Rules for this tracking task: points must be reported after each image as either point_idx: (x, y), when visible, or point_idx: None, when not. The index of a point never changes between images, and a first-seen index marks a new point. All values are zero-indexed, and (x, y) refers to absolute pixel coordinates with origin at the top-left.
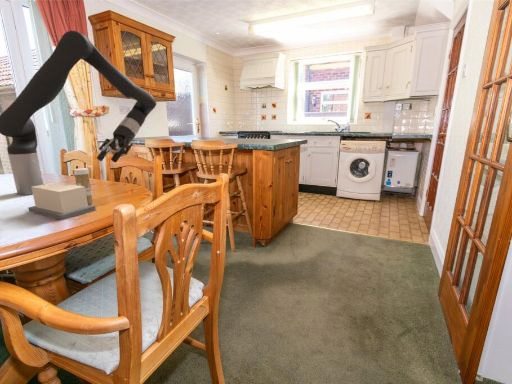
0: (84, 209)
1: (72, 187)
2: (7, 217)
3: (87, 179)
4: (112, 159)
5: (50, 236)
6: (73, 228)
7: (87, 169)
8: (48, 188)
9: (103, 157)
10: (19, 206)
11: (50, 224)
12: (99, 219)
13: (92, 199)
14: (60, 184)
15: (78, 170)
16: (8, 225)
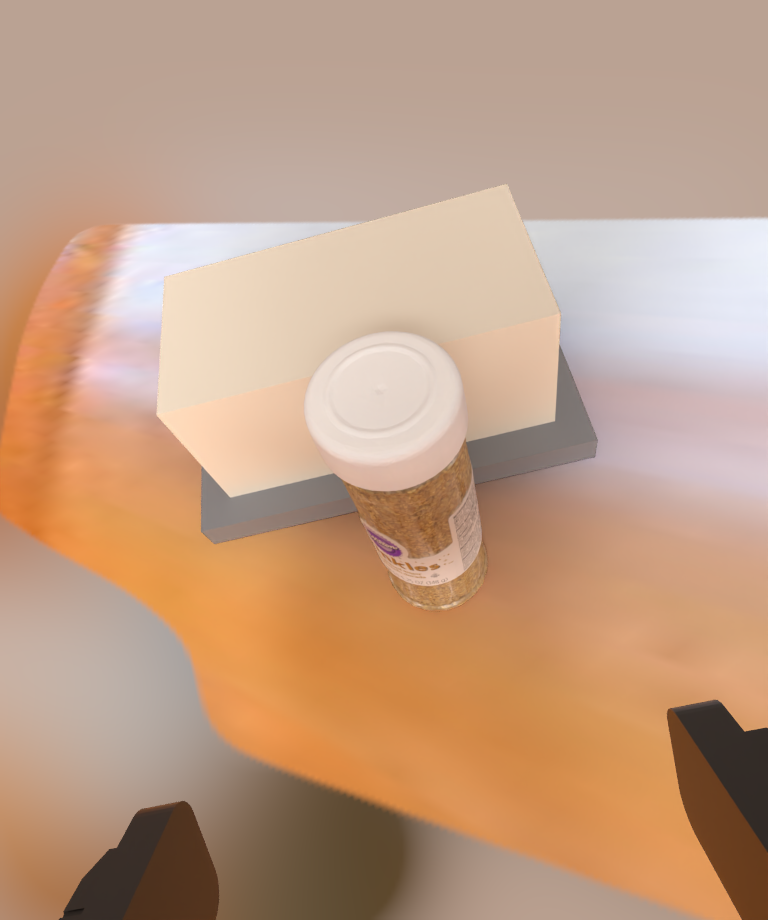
0: (202, 467)
1: (215, 350)
2: None
3: (347, 489)
4: (146, 818)
5: (70, 315)
6: (62, 383)
7: (320, 446)
8: (335, 247)
9: (744, 904)
10: (728, 269)
11: None
12: (48, 494)
13: (414, 597)
14: (417, 315)
15: (327, 359)
16: None
